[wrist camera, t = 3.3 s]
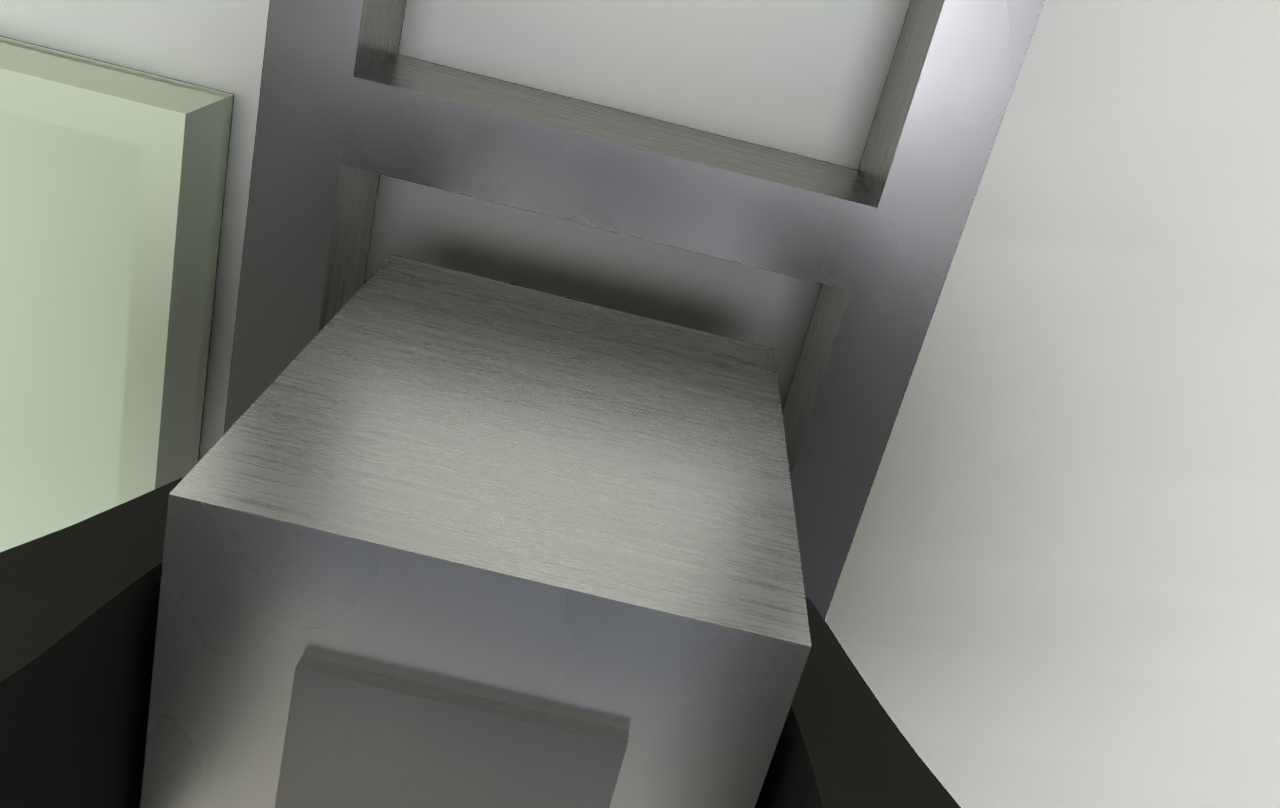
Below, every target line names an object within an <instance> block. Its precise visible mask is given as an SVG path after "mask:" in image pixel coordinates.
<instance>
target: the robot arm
mask: <svg viewBox="0 0 1280 808" xmlns="http://www.w3.org/2000/svg"><path fill="white" fill-rule="evenodd" d="M184 477H185V476H184ZM184 477H182V478H179V479H177V480H175V481H173V482H170V483H168V484H166V485H164V486H161V487H159V488H157V489H155V490H152V491H150V492H148V493H146V494H143V495H141V496H139V497H137V498H134V499H132V500H130V501H127V502H125V503H123V504H120V505H118V506H116V507H113V508H111V509H109V510H106V511H104V512H102V513H99V514H97V515H95V516H92V517H90V518H88V519H85V520H83V521H81V522H78V523H76V524H74V525H71V526H69V527H66V528H64V529H61V530H58V531H56V532H53V533H51V534H48V535H45V536H43V537H40V538H37V539H35V540H32V541H29V542H27V543H24V544H21V545H19V546H16V547H13V548H11V549H8V550H5V551H3V552H0V808H140V804H141V793H142V782H143V771H144V760H145V749H146V738H147V727H148V716H149V705H150V695H151V684H152V673H153V662H154V651H155V640H156V629H157V618H158V607H159V596H160V585H161V574H162V563H163V552H164V541H165V530H166V519H167V508H168V497H169V493H170V492H171V491H172V490H173V489H174V488H175V487H176V486H177V485H178V484H179V483H180V482H181V480H182V479H183V478H184ZM805 600H806V608H807V615H808V623H809V631H810V639H811V650H810V653H809V655H808V658H807V661H806V664H805V667H804V669H803V672H802V675H801V678H800V681H799V684H798V686H797V689H796V692H795V695H794V698H793V701H792V703H791V706H790V709H789V712H788V715H787V718H786V720H785V723H784V726H783V729H782V732H781V734H780V737H779V740H778V743H777V746H776V749H775V751H774V754H773V757H772V760H771V763H770V766H769V768H768V771H767V774H766V777H765V780H764V782H763V785H762V788H761V791H760V794H759V797H758V799H757V802H756V805H755V808H961V807H960V806H959V805H958V804H957V803H956V802H955V800H954V799H953V798H952V797H951V795H950V794H949V793H948V792H947V790H946V789H945V788H944V787H943V786H942V784H941V783H940V782H939V781H938V779H937V778H936V777H935V776H934V774H933V773H932V772H931V771H930V770H929V768H928V767H927V766H926V765H925V763H924V762H923V761H922V760H921V758H920V757H919V756H918V755H917V753H916V752H915V751H914V749H913V748H912V747H911V745H910V744H909V743H908V741H907V740H906V739H905V737H904V736H903V735H902V733H901V732H900V731H899V729H898V728H897V727H896V725H895V724H894V723H893V721H892V720H891V718H890V717H889V716H888V714H887V713H886V711H885V710H884V709H883V707H882V706H881V704H880V703H879V701H878V700H877V699H876V697H875V696H874V694H873V693H872V691H871V690H870V688H869V687H868V686H867V684H866V683H865V681H864V680H863V678H862V677H861V675H860V674H859V672H858V671H857V669H856V668H855V666H854V665H853V663H852V662H851V660H850V659H849V657H848V656H847V654H846V653H845V651H844V650H843V648H842V647H841V645H840V643H839V642H838V640H837V639H836V637H835V636H834V634H833V633H832V631H831V630H830V628H829V627H828V625H827V623H826V622H825V620H824V619H823V617H822V616H821V614H820V613H819V611H818V610H817V608H816V607H815V606H814V604H813V603H812V601H811V600H810V599H809V598H808V597H805Z"/></svg>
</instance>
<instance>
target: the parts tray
mask: <svg viewBox="0 0 1280 808" xmlns="http://www.w3.org/2000/svg"><path fill="white" fill-rule="evenodd" d="M233 95H234V94H230V93H226V92H221V91H217V90H213V89H209V88H205V87H201V86H197V85H193V84H189V83H185V82H181V81H177V80H173V79H169V78H165V77H161V76H157V75H153V74H149V73H145V72H141V71H137V70H133V69H129V68H125V67H121V66H117V65H113V64H109V63H105V62H101V61H97V60H93V59H89V58H85V57H81V56H77V55H73V54H69V53H65V52H61V51H57V50H53V49H49V48H45V47H41V46H37V45H33V44H29V43H25V42H21V41H17V40H13V39H9V38H5V37H1V36H0V552H3V551H5V550H8V549H11V548H13V547H16V546H19V545H21V544H24V543H27V542H29V541H32V540H35V539H37V538H40V537H43V536H45V535H48V534H51V533H53V532H56V531H58V530H61V529H64V528H66V527H69V526H71V525H74V524H76V523H78V522H81V521H83V520H85V519H88V518H90V517H92V516H95V515H97V514H99V513H102V512H104V511H106V510H109V509H111V508H113V507H116V506H118V505H120V504H123V503H125V502H127V501H130V500H132V499H134V498H137V497H139V496H141V495H143V494H146V493H148V492H150V491H152V490H155V489H157V488H159V487H161V486H164V485H166V484H168V483H170V482H173V481H175V480H177V479H179V478H182V477H184V476H186V475H187V474H188V473H189V472H190V471H191V470H192V469H193V468H194V466H195V465H196V464H197V463H198V453H199V443H200V433H201V423H202V413H203V402H204V392H205V382H206V372H207V361H208V351H209V341H210V331H211V320H212V310H213V300H214V290H215V279H216V269H217V259H218V249H219V238H220V228H221V218H222V208H223V197H224V187H225V177H226V167H227V156H228V146H229V136H230V126H231V115H232V105H233Z"/></svg>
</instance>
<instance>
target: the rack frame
mask: <svg viewBox="0 0 1280 808" xmlns="http://www.w3.org/2000/svg"><path fill="white" fill-rule="evenodd" d="M1044 1H1045V0H911V3H910V6H909V9H908V13H907V16H906V19H905V22H904V25H903V29H902V32H901V35H900V38H899V41H898V45H897V48H896V51H895V54H894V57H893V61H892V64H891V67H890V70H889V73H888V77H887V80H886V83H885V86H884V89H883V93H882V96H881V99H880V102H879V105H878V109H877V112H876V115H875V118H874V121H873V124H872V128H871V131H870V134H869V137H868V140H867V144H866V147H865V150H864V153H863V156H862V160H861V163H860V166H859V169H858V170H855V169H851V168H847V167H843V166H839V165H835V164H831V163H827V162H823V161H819V160H815V159H811V158H807V157H803V156H799V155H795V154H791V153H787V152H783V151H779V150H775V149H771V148H767V147H763V146H759V145H755V144H751V143H747V142H743V141H739V140H735V139H731V138H727V137H723V136H720V135H716V134H712V133H708V132H704V131H700V130H696V129H692V128H688V127H684V126H680V125H676V124H672V123H668V122H664V121H660V120H656V119H652V118H648V117H644V116H640V115H636V114H632V113H628V112H624V111H620V110H616V109H612V108H608V107H604V106H600V105H596V104H592V103H588V102H584V101H580V100H576V99H572V98H568V97H565V96H561V95H557V94H553V93H549V92H545V91H541V90H537V89H533V88H529V87H525V86H521V85H517V84H513V83H509V82H505V81H501V80H497V79H493V78H489V77H485V76H481V75H477V74H473V73H469V72H465V71H461V70H457V69H453V68H449V67H445V66H441V65H437V64H433V63H429V62H425V61H421V60H417V59H413V58H409V57H406V56H402V55H398V50H399V43H400V37H401V30H402V23H403V17H404V10H405V3H406V0H270V3H269V13H268V22H267V31H266V41H265V50H264V60H263V69H262V78H261V88H260V97H259V107H258V116H257V125H256V135H255V144H254V154H253V163H252V172H251V182H250V191H249V201H248V210H247V220H246V229H245V238H244V248H243V257H242V267H241V276H240V285H239V295H238V304H237V314H236V323H235V332H234V342H233V351H232V361H231V370H230V379H229V389H228V398H227V408H226V417H225V426H224V434H225V433H226V432H227V431H228V430H229V429H230V428H231V427H232V426H233V425H234V424H235V422H236V421H237V420H238V419H239V418H240V417H241V416H242V415H243V414H244V413H245V412H246V411H247V410H248V409H249V407H250V406H251V405H252V404H253V403H254V402H255V401H256V400H257V399H258V398H259V397H260V396H261V395H262V394H263V392H264V391H265V390H266V389H267V388H268V387H269V386H270V385H271V384H272V383H273V382H274V381H275V380H276V379H277V377H278V376H279V375H280V374H281V373H282V372H283V371H284V370H285V369H286V368H287V367H288V366H289V365H290V363H291V362H292V361H293V360H294V359H295V358H296V357H297V356H298V355H299V354H300V353H301V352H302V351H303V350H304V348H305V347H306V346H307V345H308V344H309V343H310V342H311V341H312V340H313V339H314V338H315V337H316V336H317V335H318V333H319V332H320V331H321V330H322V329H323V328H324V327H325V326H326V325H327V324H328V323H329V322H330V321H331V319H332V318H333V317H334V316H335V315H336V314H337V313H338V312H339V311H340V310H341V309H342V308H343V307H344V306H345V304H346V303H347V302H348V301H349V300H350V299H351V298H352V297H353V296H354V295H355V294H356V293H357V292H358V291H359V289H360V288H361V287H362V286H363V283H364V276H365V270H366V263H367V256H368V250H369V243H370V236H371V230H372V223H373V216H374V210H375V203H376V196H377V190H378V183H379V176H380V174H382V175H386V176H390V177H394V178H398V179H402V180H406V181H410V182H414V183H418V184H422V185H426V186H431V187H435V188H439V189H443V190H447V191H451V192H455V193H459V194H463V195H467V196H471V197H475V198H479V199H483V200H487V201H491V202H495V203H499V204H503V205H507V206H511V207H515V208H519V209H523V210H527V211H531V212H536V213H540V214H544V215H548V216H552V217H556V218H560V219H564V220H568V221H572V222H576V223H580V224H584V225H588V226H592V227H596V228H600V229H604V230H608V231H612V232H616V233H620V234H624V235H628V236H632V237H636V238H641V239H645V240H649V241H653V242H657V243H661V244H665V245H669V246H673V247H677V248H681V249H685V250H689V251H693V252H697V253H701V254H705V255H709V256H713V257H717V258H721V259H725V260H729V261H733V262H737V263H741V264H745V265H750V266H754V267H758V268H762V269H766V270H770V271H774V272H778V273H782V274H786V275H790V276H794V277H798V278H802V279H806V280H810V281H814V282H818V283H822V287H821V291H820V294H819V297H818V300H817V303H816V307H815V310H814V313H813V316H812V319H811V323H810V326H809V329H808V332H807V335H806V339H805V342H804V345H803V348H802V351H801V355H800V358H799V361H798V364H797V367H796V371H795V374H794V377H793V380H792V383H791V387H790V390H789V393H788V396H787V399H786V403H785V406H784V409H783V412H782V417H783V425H784V433H785V441H786V449H787V457H788V465H789V473H790V481H791V489H792V497H793V504H794V512H795V520H796V528H797V536H798V544H799V552H800V560H801V568H802V576H803V584H804V592H805V597H808V598H809V599H810V600H811V601H812V603H813V604H814V606H815V607H816V608H817V610H818V611H819V613H820V614H821V616H822V617H823V619H825V616H826V613H827V611H828V608H829V605H830V602H831V599H832V597H833V594H834V591H835V588H836V585H837V583H838V580H839V577H840V574H841V571H842V569H843V566H844V563H845V560H846V557H847V554H848V552H849V549H850V546H851V543H852V540H853V538H854V535H855V532H856V529H857V526H858V524H859V521H860V518H861V515H862V512H863V510H864V507H865V504H866V501H867V498H868V495H869V493H870V490H871V487H872V484H873V481H874V479H875V476H876V473H877V470H878V467H879V465H880V462H881V459H882V456H883V453H884V451H885V448H886V445H887V442H888V439H889V436H890V434H891V431H892V428H893V425H894V422H895V420H896V417H897V414H898V411H899V408H900V406H901V403H902V400H903V397H904V394H905V392H906V389H907V386H908V383H909V380H910V377H911V375H912V372H913V369H914V366H915V363H916V361H917V358H918V355H919V352H920V349H921V347H922V344H923V341H924V338H925V335H926V332H927V330H928V327H929V324H930V321H931V318H932V316H933V313H934V310H935V307H936V304H937V302H938V299H939V296H940V293H941V290H942V288H943V285H944V282H945V279H946V276H947V273H948V271H949V268H950V265H951V262H952V259H953V257H954V254H955V251H956V248H957V245H958V243H959V240H960V237H961V234H962V231H963V229H964V226H965V223H966V220H967V217H968V214H969V212H970V209H971V206H972V203H973V200H974V198H975V195H976V192H977V189H978V186H979V184H980V181H981V178H982V175H983V172H984V170H985V167H986V164H987V161H988V158H989V155H990V153H991V150H992V147H993V144H994V141H995V139H996V136H997V133H998V130H999V127H1000V125H1001V122H1002V119H1003V116H1004V113H1005V110H1006V108H1007V105H1008V102H1009V99H1010V96H1011V94H1012V91H1013V88H1014V85H1015V82H1016V80H1017V77H1018V74H1019V71H1020V68H1021V66H1022V63H1023V60H1024V57H1025V54H1026V51H1027V49H1028V46H1029V43H1030V40H1031V37H1032V35H1033V32H1034V29H1035V26H1036V23H1037V21H1038V18H1039V15H1040V12H1041V9H1042V7H1043V4H1044Z"/></svg>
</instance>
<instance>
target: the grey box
mask: <svg viewBox="0 0 1280 808" xmlns="http://www.w3.org/2000/svg"><path fill="white" fill-rule="evenodd" d="M810 650H811V639H810V631H809V623H808V615H807V608H806V600H805V592H804V584H803V576H802V568H801V560H800V552H799V544H798V536H797V528H796V520H795V512H794V504H793V497H792V489H791V481H790V473H789V465H788V457H787V449H786V441H785V433H784V425H783V417H782V409H781V401H780V393H779V386H778V378H777V370H776V362H775V354H774V349H773V348H768V347H764V346H760V345H756V344H752V343H748V342H744V341H740V340H736V339H732V338H728V337H724V336H720V335H716V334H712V333H708V332H704V331H700V330H696V329H691V328H687V327H683V326H679V325H675V324H671V323H667V322H663V321H659V320H655V319H651V318H647V317H643V316H639V315H635V314H631V313H627V312H623V311H619V310H615V309H610V308H606V307H602V306H598V305H594V304H590V303H586V302H582V301H578V300H574V299H570V298H566V297H562V296H558V295H554V294H550V293H546V292H542V291H538V290H533V289H529V288H525V287H521V286H517V285H513V284H509V283H505V282H501V281H497V280H493V279H489V278H485V277H481V276H477V275H473V274H469V273H465V272H461V271H456V270H452V269H448V268H444V267H440V266H436V265H432V264H428V263H424V262H420V261H416V260H412V259H408V258H404V257H400V256H396V255H391V256H390V257H389V258H388V259H387V260H386V262H385V263H384V264H383V265H382V266H381V267H380V268H379V269H378V270H377V271H376V272H375V273H374V274H373V276H372V277H371V278H370V279H369V280H368V281H367V282H366V283H365V284H364V285H363V286H362V287H361V288H360V289H359V291H358V292H357V293H356V294H355V295H354V296H353V297H352V298H351V299H350V300H349V301H348V302H347V303H346V304H345V306H344V307H343V308H342V309H341V310H340V311H339V312H338V313H337V314H336V315H335V316H334V317H333V318H332V319H331V321H330V322H329V323H328V324H327V325H326V326H325V327H324V328H323V329H322V330H321V331H320V332H319V333H318V335H317V336H316V337H315V338H314V339H313V340H312V341H311V342H310V343H309V344H308V345H307V346H306V347H305V348H304V350H303V351H302V352H301V353H300V354H299V355H298V356H297V357H296V358H295V359H294V360H293V361H292V362H291V363H290V365H289V366H288V367H287V368H286V369H285V370H284V371H283V372H282V373H281V374H280V375H279V376H278V377H277V379H276V380H275V381H274V382H273V383H272V384H271V385H270V386H269V387H268V388H267V389H266V390H265V391H264V392H263V394H262V395H261V396H260V397H259V398H258V399H257V400H256V401H255V402H254V403H253V404H252V405H251V406H250V407H249V409H248V410H247V411H246V412H245V413H244V414H243V415H242V416H241V417H240V418H239V419H238V420H237V421H236V422H235V424H234V425H233V426H232V427H231V428H230V429H229V430H228V431H227V432H226V433H225V434H224V435H223V436H222V438H221V439H220V440H219V441H218V442H217V443H216V444H215V445H214V446H213V447H212V448H211V449H210V450H209V451H208V453H207V454H206V455H205V456H204V457H203V458H202V459H201V460H200V461H199V462H198V463H197V464H196V465H195V466H194V468H193V469H192V470H191V471H190V472H189V473H188V474H187V475H186V476H185V477H184V478H183V479H182V480H181V482H180V483H179V484H178V485H177V486H176V487H175V488H174V489H173V490H172V491H171V492H170V493H169V497H168V508H167V519H166V530H165V541H164V552H163V563H162V574H161V585H160V596H159V607H158V618H157V629H156V640H155V651H154V662H153V673H152V684H151V695H150V705H149V716H148V727H147V738H146V749H145V760H144V771H143V782H142V793H141V804H140V808H755V805H756V802H757V799H758V797H759V794H760V791H761V788H762V785H763V782H764V780H765V777H766V774H767V771H768V768H769V766H770V763H771V760H772V757H773V754H774V751H775V749H776V746H777V743H778V740H779V737H780V734H781V732H782V729H783V726H784V723H785V720H786V718H787V715H788V712H789V709H790V706H791V703H792V701H793V698H794V695H795V692H796V689H797V686H798V684H799V681H800V678H801V675H802V672H803V669H804V667H805V664H806V661H807V658H808V655H809V653H810Z"/></svg>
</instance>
